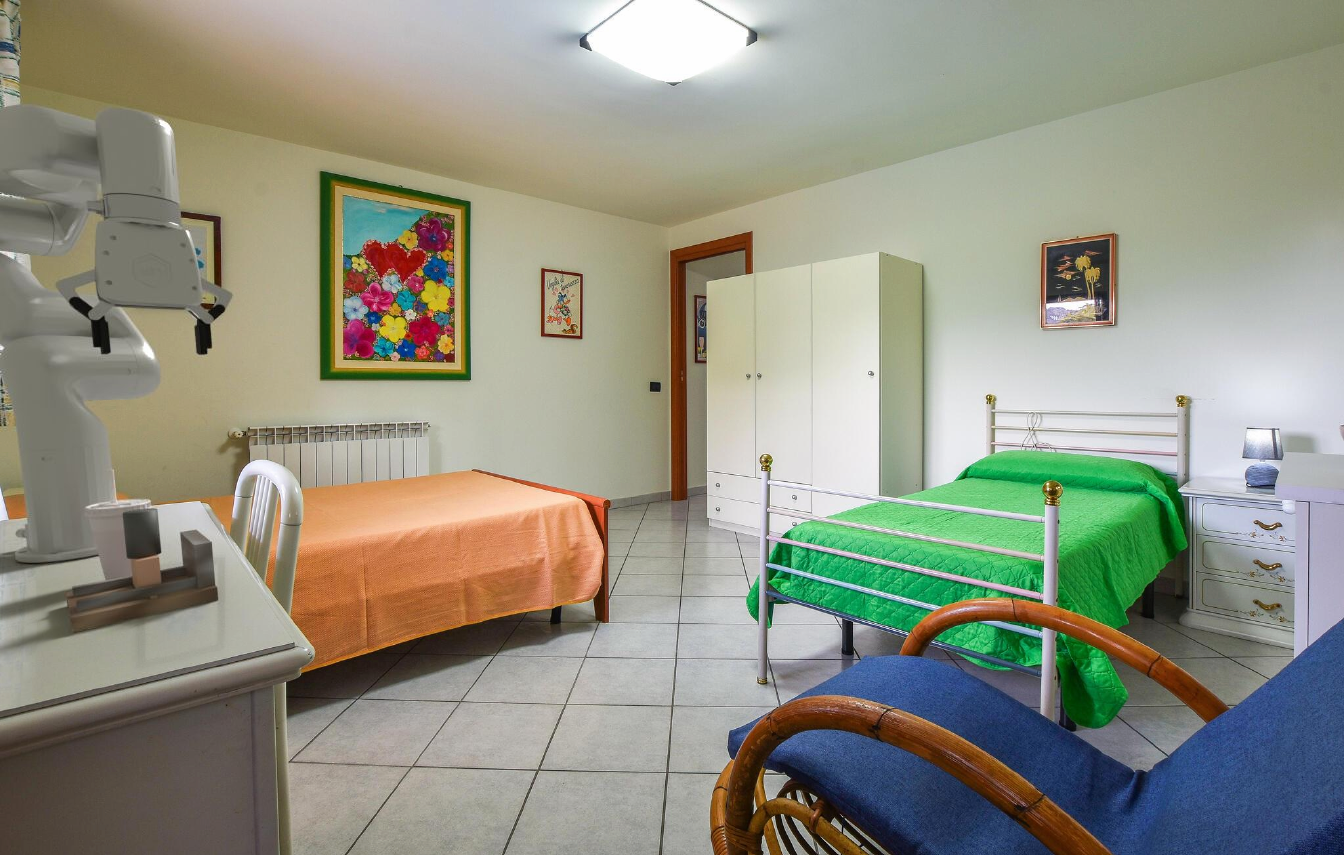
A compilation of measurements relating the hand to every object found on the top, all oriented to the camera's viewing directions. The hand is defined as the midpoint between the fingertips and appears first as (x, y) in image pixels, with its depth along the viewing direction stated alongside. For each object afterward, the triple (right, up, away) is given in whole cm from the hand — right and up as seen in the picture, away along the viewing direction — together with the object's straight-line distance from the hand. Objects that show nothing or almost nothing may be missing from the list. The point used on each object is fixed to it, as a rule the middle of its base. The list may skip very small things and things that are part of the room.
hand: (156, 354), depth 81 cm
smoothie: (-3, -29, -1) cm, 29 cm away
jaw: (+7, -27, -10) cm, 30 cm away
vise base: (+6, -29, -10) cm, 31 cm away
